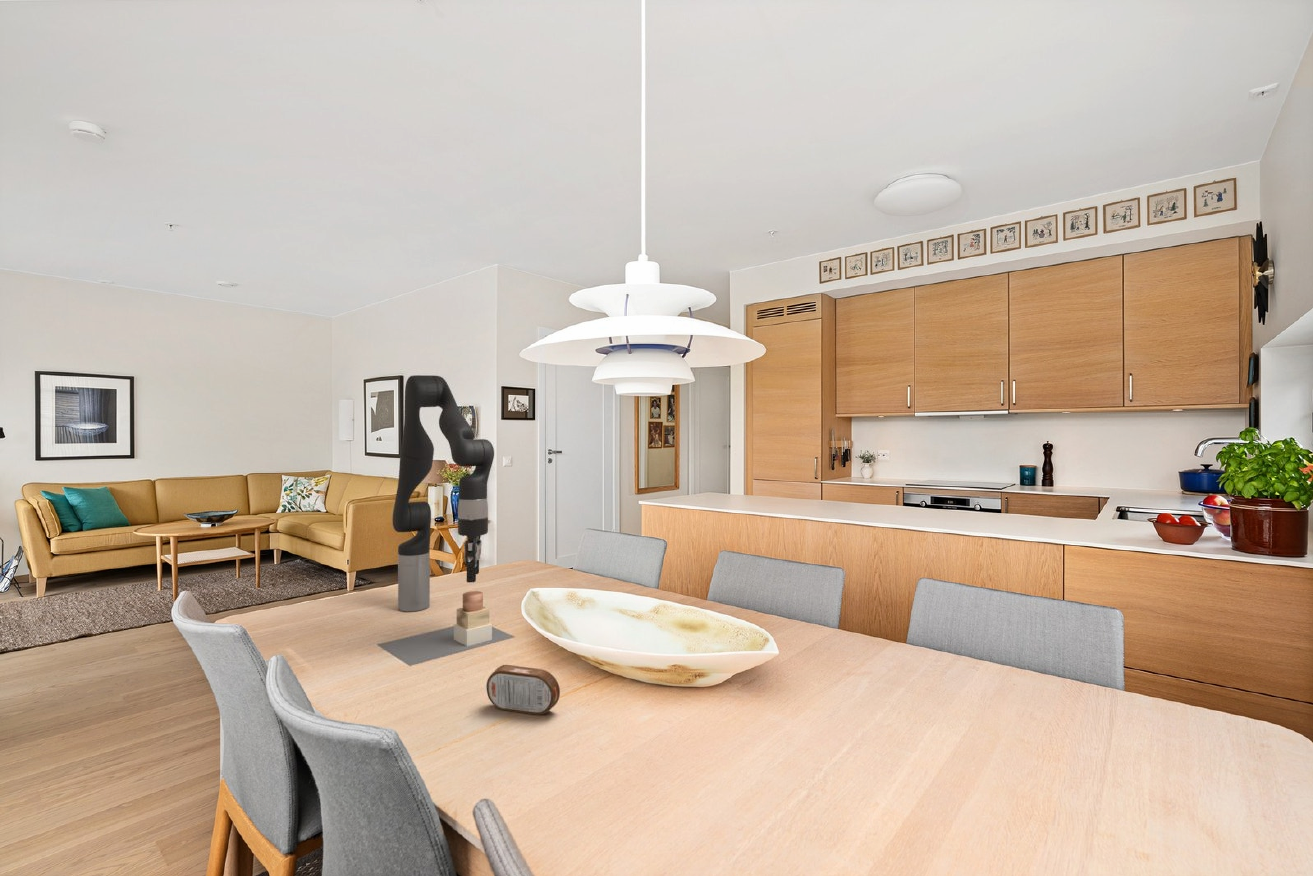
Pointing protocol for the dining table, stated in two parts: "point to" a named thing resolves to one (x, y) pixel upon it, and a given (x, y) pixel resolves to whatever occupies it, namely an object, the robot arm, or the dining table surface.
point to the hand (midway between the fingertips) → (473, 578)
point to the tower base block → (472, 634)
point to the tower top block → (472, 618)
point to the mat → (434, 645)
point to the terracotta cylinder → (472, 601)
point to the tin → (523, 689)
